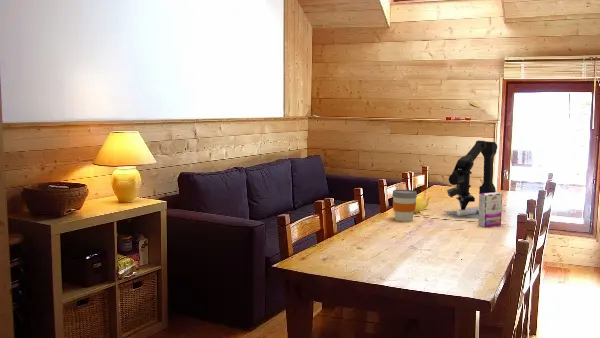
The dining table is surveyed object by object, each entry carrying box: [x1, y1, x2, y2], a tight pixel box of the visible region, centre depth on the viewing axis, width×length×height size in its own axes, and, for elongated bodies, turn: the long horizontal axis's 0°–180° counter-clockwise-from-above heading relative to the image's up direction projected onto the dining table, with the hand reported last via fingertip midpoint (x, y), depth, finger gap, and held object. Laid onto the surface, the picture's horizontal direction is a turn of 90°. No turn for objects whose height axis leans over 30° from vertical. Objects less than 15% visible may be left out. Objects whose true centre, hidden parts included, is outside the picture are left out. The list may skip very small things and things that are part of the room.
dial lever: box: [456, 206, 479, 216], centre depth 309 cm, size 18×5×3 cm, turn 124°
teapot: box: [414, 195, 432, 214], centre depth 323 cm, size 14×13×10 cm
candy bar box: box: [477, 191, 503, 228], centre depth 288 cm, size 11×5×16 cm, turn 117°
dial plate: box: [443, 210, 479, 220], centre depth 309 cm, size 20×20×2 cm
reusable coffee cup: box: [391, 189, 418, 223], centre depth 300 cm, size 12×13×15 cm
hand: (462, 211), depth 309 cm, fingers closed
